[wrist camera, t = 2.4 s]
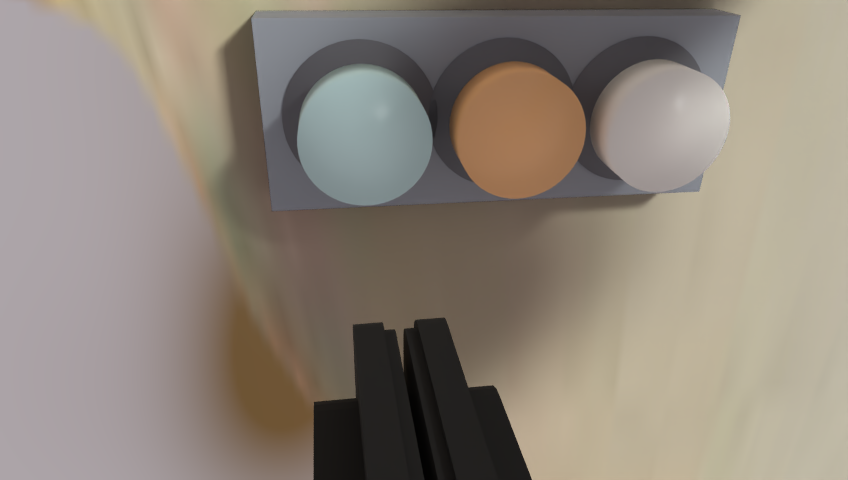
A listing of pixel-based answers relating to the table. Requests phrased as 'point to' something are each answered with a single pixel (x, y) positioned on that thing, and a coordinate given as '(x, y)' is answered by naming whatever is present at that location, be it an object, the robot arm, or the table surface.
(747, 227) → the table surface
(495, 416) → the robot arm
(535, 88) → the orange button
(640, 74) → the cream button
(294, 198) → the button panel
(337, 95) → the teal button
